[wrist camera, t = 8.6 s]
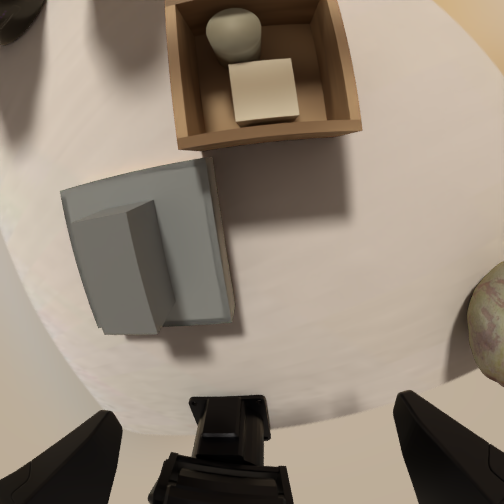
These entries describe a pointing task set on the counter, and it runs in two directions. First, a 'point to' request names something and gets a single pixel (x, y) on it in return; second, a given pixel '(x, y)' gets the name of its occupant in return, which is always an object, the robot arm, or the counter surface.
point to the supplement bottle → (17, 18)
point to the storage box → (259, 72)
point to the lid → (151, 248)
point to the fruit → (488, 324)
